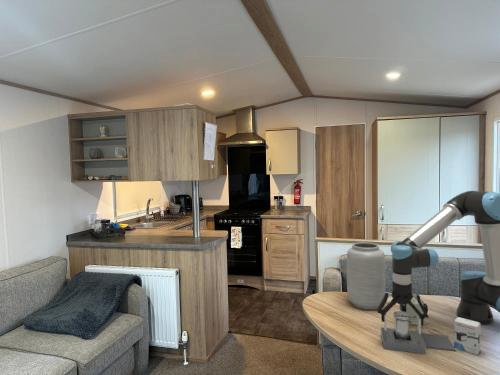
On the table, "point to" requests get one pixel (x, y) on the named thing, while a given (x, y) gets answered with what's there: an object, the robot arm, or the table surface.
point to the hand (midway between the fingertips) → (402, 330)
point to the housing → (403, 341)
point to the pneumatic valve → (410, 310)
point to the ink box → (467, 335)
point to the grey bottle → (402, 325)
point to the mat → (437, 342)
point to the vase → (365, 275)
